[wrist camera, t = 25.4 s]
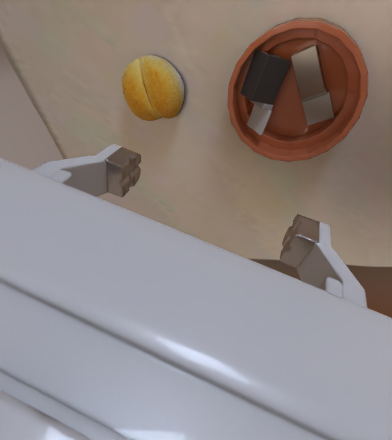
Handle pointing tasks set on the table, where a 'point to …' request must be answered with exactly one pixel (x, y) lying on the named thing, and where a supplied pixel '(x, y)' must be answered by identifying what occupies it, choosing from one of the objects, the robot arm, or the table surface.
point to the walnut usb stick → (312, 85)
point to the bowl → (289, 95)
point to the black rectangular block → (263, 86)
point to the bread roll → (152, 88)
